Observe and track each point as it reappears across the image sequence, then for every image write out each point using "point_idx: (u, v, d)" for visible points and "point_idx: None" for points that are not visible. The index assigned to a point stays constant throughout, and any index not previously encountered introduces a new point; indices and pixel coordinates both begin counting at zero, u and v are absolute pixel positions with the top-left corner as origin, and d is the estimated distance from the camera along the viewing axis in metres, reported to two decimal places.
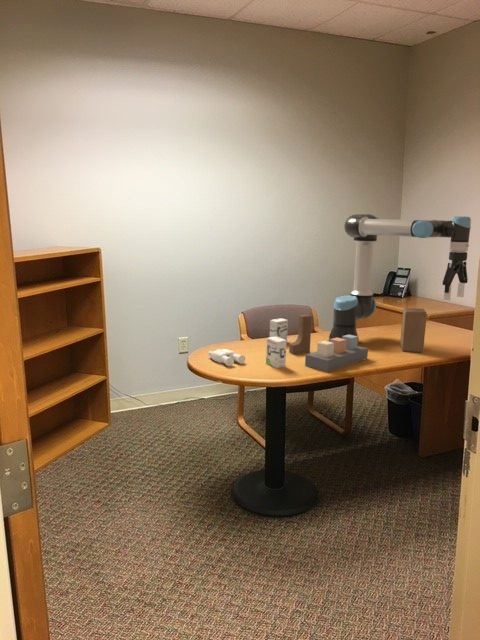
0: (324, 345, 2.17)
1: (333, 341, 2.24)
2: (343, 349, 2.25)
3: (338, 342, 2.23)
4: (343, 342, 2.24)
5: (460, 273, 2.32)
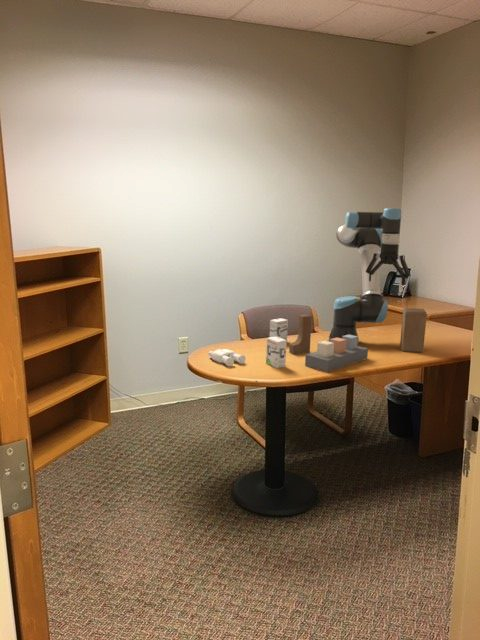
0: (324, 345, 2.17)
1: (333, 341, 2.24)
2: (343, 349, 2.25)
3: (338, 342, 2.23)
4: (343, 342, 2.24)
5: None
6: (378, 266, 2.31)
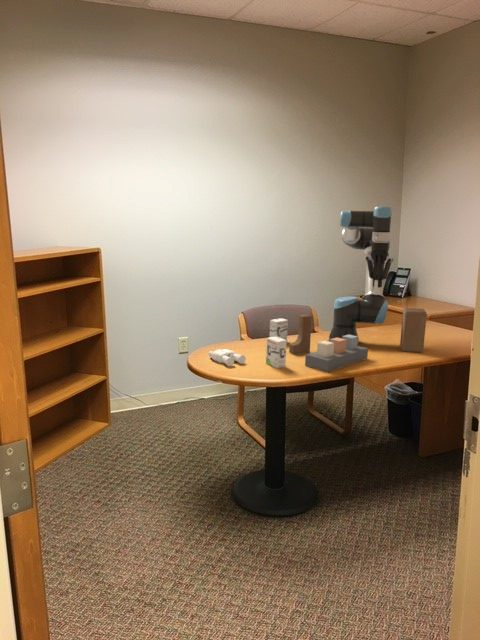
0: (324, 345, 2.17)
1: (333, 341, 2.24)
2: (343, 349, 2.25)
3: (338, 342, 2.23)
4: (343, 342, 2.24)
5: None
6: (375, 267, 2.29)
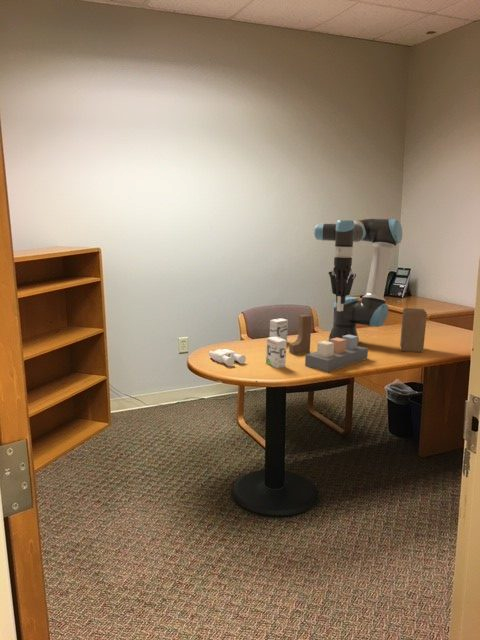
0: (324, 345, 2.17)
1: (333, 341, 2.24)
2: (343, 349, 2.25)
3: (338, 342, 2.23)
4: (343, 342, 2.24)
5: None
6: (338, 283, 2.20)
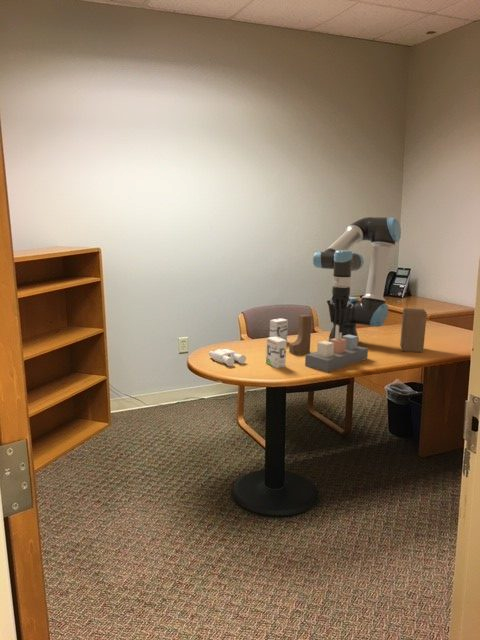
0: (324, 345, 2.17)
1: (333, 341, 2.24)
2: (343, 349, 2.25)
3: (338, 342, 2.23)
4: (343, 342, 2.24)
5: None
6: (336, 312, 2.23)
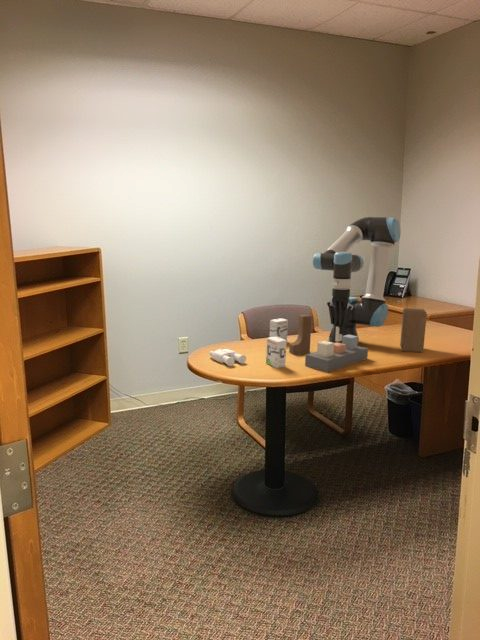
0: (324, 345, 2.17)
1: None
2: None
3: (338, 347, 2.23)
4: (343, 347, 2.25)
5: None
6: (336, 313, 2.23)
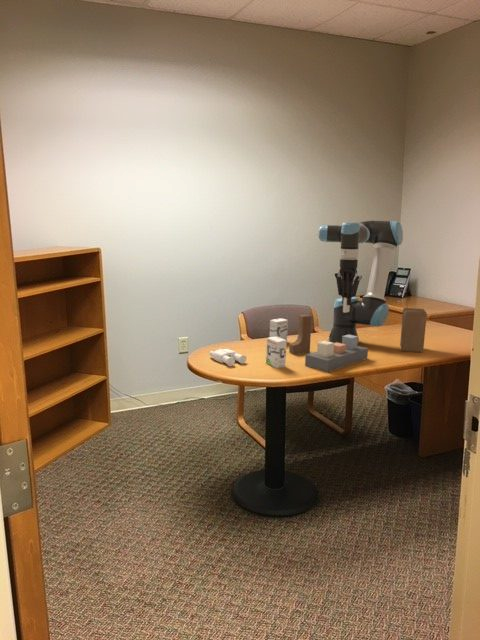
0: (324, 345, 2.17)
1: None
2: None
3: (338, 347, 2.23)
4: (343, 347, 2.25)
5: None
6: (344, 284, 2.22)
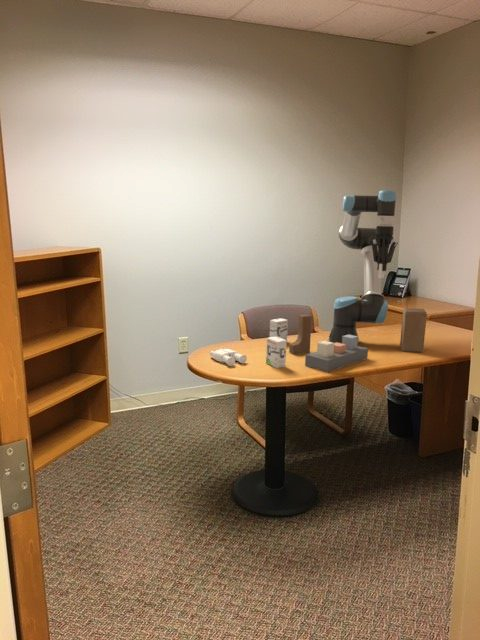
0: (324, 345, 2.17)
1: None
2: None
3: (338, 347, 2.23)
4: (343, 347, 2.25)
5: None
6: (380, 251, 2.31)
